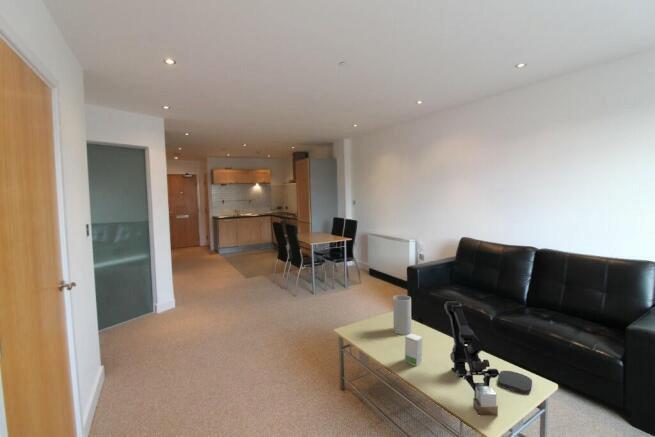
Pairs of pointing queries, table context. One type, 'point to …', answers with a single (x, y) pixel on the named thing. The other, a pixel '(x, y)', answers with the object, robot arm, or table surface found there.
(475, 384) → the plunger
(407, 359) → the skincare box
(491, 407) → the grey brown block
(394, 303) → the cylinder vase
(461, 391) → the table surface
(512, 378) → the media streaming box
